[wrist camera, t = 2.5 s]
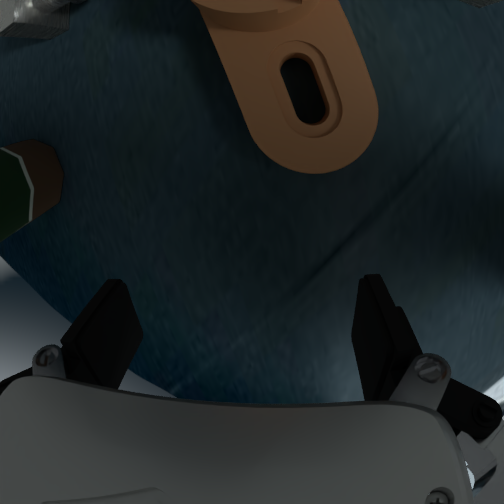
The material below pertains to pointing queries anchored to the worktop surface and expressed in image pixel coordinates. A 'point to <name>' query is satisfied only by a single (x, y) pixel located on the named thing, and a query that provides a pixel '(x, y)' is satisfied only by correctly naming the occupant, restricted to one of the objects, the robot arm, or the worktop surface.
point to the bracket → (272, 85)
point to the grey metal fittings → (64, 17)
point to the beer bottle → (27, 183)
